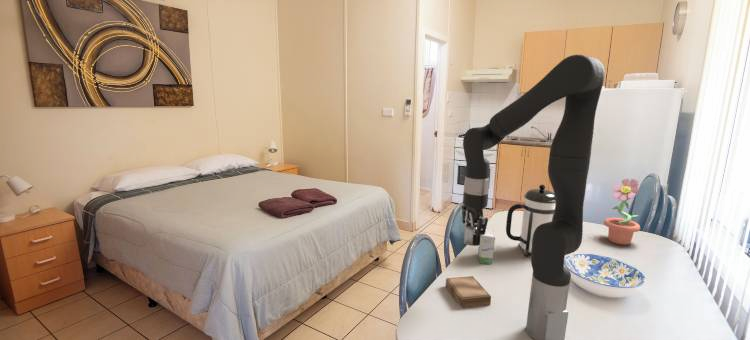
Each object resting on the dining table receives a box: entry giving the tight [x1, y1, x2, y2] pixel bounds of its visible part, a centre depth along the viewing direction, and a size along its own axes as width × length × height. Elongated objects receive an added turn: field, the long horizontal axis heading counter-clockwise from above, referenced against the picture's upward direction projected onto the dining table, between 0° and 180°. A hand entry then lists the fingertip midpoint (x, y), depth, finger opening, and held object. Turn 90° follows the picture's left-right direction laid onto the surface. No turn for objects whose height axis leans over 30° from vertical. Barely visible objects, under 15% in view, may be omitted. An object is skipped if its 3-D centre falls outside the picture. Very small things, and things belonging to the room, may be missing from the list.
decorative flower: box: [603, 178, 641, 246], centre depth 164 cm, size 15×14×30 cm
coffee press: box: [505, 184, 556, 257], centre depth 151 cm, size 17×16×30 cm
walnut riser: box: [445, 276, 492, 309], centre depth 120 cm, size 13×10×3 cm
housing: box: [463, 225, 481, 247], centre depth 116 cm, size 5×5×5 cm
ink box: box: [477, 228, 496, 265], centre depth 145 cm, size 9×5×12 cm, turn 168°
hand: (472, 241), depth 116 cm, fingers closed on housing, 5 cm apart
